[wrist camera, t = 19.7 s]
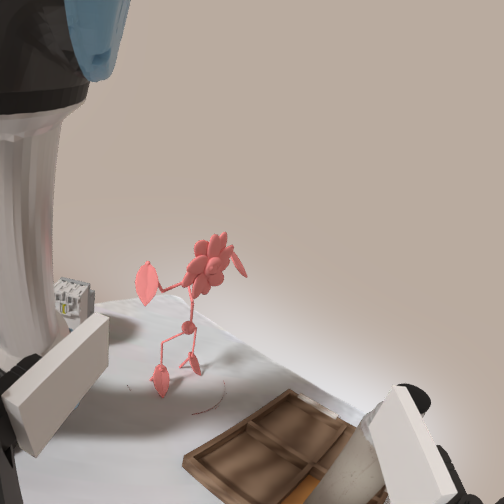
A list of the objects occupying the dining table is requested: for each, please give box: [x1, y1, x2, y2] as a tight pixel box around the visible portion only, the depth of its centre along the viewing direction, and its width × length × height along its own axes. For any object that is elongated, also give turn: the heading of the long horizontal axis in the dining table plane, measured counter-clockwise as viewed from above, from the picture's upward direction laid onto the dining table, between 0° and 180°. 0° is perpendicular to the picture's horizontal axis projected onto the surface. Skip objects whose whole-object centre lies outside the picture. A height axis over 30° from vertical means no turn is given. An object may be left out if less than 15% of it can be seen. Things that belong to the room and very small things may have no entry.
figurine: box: [127, 232, 247, 415], centre depth 58 cm, size 15×26×35 cm, turn 145°
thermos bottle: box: [303, 384, 431, 504], centre depth 32 cm, size 8×8×28 cm
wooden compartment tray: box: [182, 389, 388, 504], centre depth 45 cm, size 31×31×4 cm
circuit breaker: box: [54, 277, 95, 330], centre depth 65 cm, size 8×14×15 cm, turn 10°
